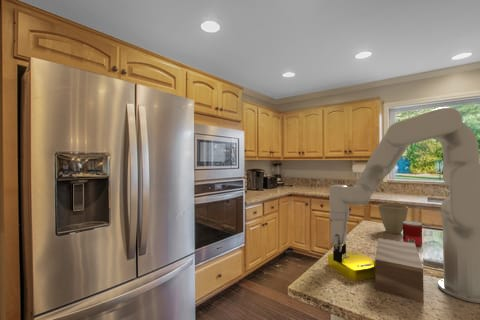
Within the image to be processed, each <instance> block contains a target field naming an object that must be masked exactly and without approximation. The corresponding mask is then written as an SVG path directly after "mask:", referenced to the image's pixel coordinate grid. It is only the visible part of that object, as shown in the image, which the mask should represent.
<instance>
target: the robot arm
mask: <svg viewBox="0 0 480 320" xmlns="http://www.w3.org/2000/svg"><path fill="white" fill-rule="evenodd" d="M462 115H463V114H462V113H461V112H460V111H459V109H456V108H453V107H449V106H443V107H437V108H435V109H431V110H429V111H426V112H423V113H420V114H416V115H415V116H411V117H409V118H405V119H401V120H399V121H396V122H394V123H392V124H391V125H390V126H388V128H387V130H386V133H385V134H384V136H383V137H382V139H381V140H380V141H379V143H378V145H377V146H376V148H375V149H374V150H373V152H372V153H371V156H370V157H369V159H368V160H367V163H366V165H365V168H364V170H363V171H362V173H361V175H360V176H359V177H358V179H357V181H356V182H355V183H354V185H353V186H347V185H345V184H332V185H330V186H329V189H328V190H329V191H328V193H329V194H328V196H329V199H328V201H329V219H330V220H331V223H330V244H331V245H333V248H332V249H333V250H332V252H333V253H332V254H333V260H334V261H338V262H342V253H346V252H347V243H346V242H347V237H348V236H347V235H348V221H349V220H350V218H351V217H350V205H354V206H361V207H362V206H366V205H367V204H369V202H370V201H371V197H372V196H373V194H374V192H375V191H376V189H378V186H380V184H381V182H383V180H384V179H385V178H386V177H387V176H388V175H389V174H390V173H391V172H392V171H393V169H394V168H395V166H396V165H397V164H398V162H399V160H401V157H402V156H403V155H404V153H405V152H406V151H407V149H408V147H409V146H410V145H411V144H412V145H413V144H416V143H420V142H424V141H427V140H430V139H434V138H436V139H437V140H438V142H440V144H441V149H442V156H443V157H442V162H443V163H442V165H443V167H442V179H443V181H444V183H445V184H446V186H448V187H449V196H447V197H446V198H445V199H444V200H442V203H441V205H440V215H441V223H442V248H443V252H442V254H443V256H442V257H443V262H442V263H443V278H441V279H439V280H437V286H438V288H439V289H440V290H441V291H443V292H444V293H446V294H447V295H449V296H452V297H453V298H456V299H458V300H462V301H466V302H470V303H474V304H480V150H479V143H478V138H477V135H476V134H475V133H474V131H473V130H472V129H471V127H469V126H468V125H467V124H466V123H465V122H463V116H462Z"/></svg>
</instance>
